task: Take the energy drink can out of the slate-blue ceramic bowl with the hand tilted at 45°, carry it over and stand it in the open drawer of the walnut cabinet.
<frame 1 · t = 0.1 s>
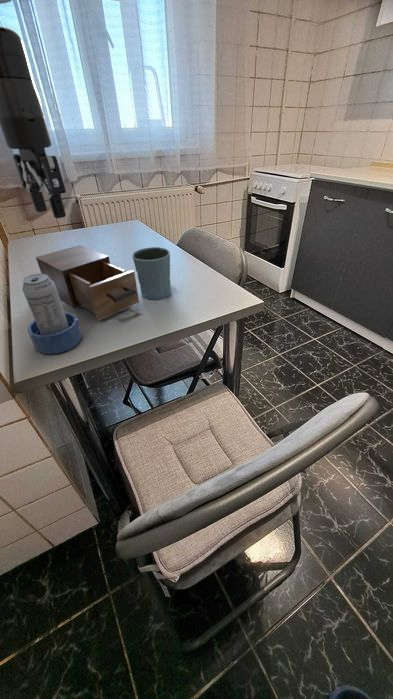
hand: (50, 214, 61), 25 cm above the table, tool pointing down, fingers open, 8 cm apart
drinking glass: (155, 294, 87), on the table
energy drink can: (59, 340, 68), resting on bowl
drawer: (105, 289, 77), point 5 cm above the table, slide at 11.0 cm
bowl: (59, 341, 68), on the table
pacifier: (99, 270, 103), on the table
cabinet: (81, 291, 89), on the table
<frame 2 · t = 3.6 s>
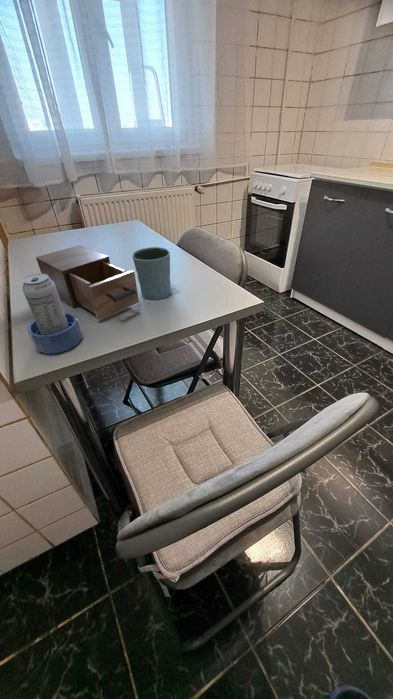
nothing on the table moved.
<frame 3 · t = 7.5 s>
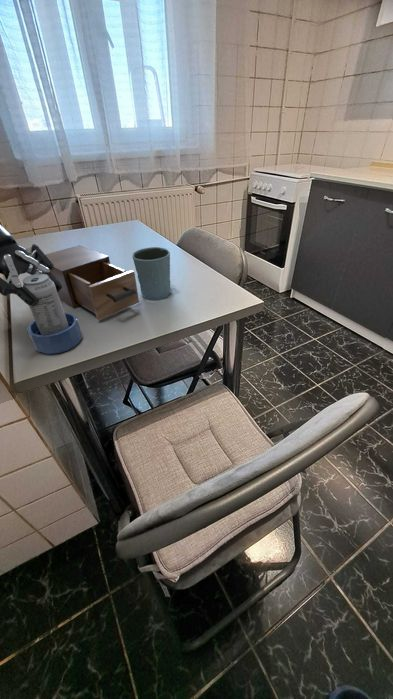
hand: (48, 296, 60), 12 cm above the table, tool tilted 45°, fingers closed on energy drink can, 6 cm apart
energy drink can: (59, 340, 68), resting on bowl, touching gripper
everything else where it was.
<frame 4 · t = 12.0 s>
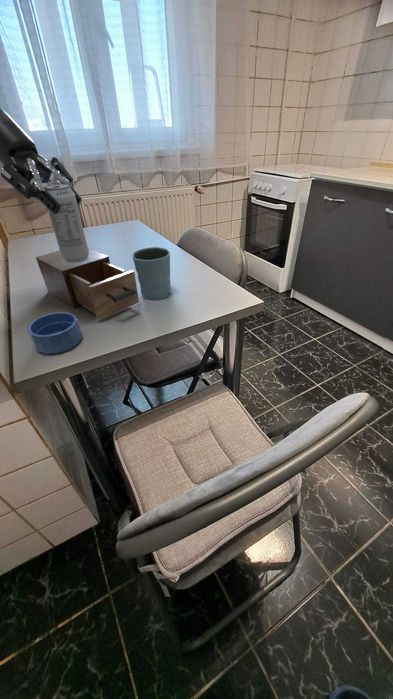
hand: (69, 206, 61), 26 cm above the table, tool tilted 45°, fingers closed on energy drink can, 6 cm apart
energy drink can: (77, 259, 68), point 15 cm above the table, touching gripper
everything else where it was.
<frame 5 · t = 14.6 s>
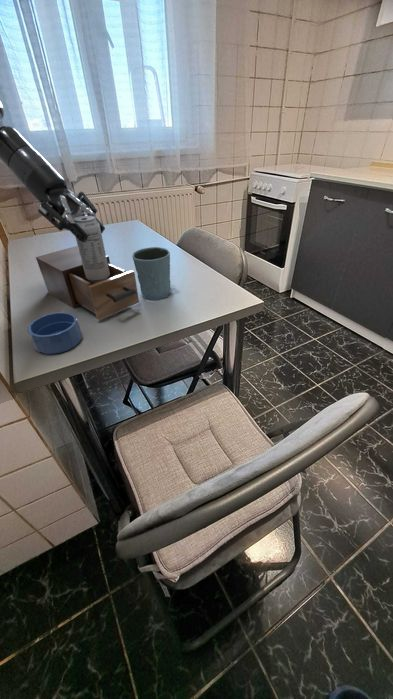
hand: (94, 235, 70), 19 cm above the table, tool tilted 45°, fingers closed on energy drink can, 6 cm apart
energy drink can: (98, 279, 77), point 8 cm above the table, touching gripper
everything else where it was.
when the fingers open (13 cm above the table, at t = 16.7 s): energy drink can stays where it is, resting on drawer.
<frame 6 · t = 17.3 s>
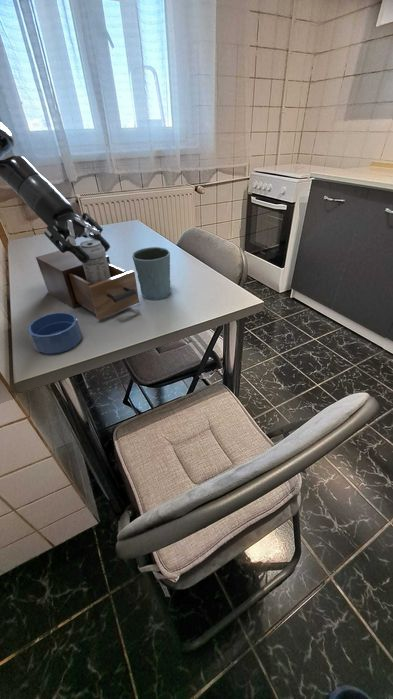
hand: (98, 254, 73), 14 cm above the table, tool tilted 45°, fingers open, 8 cm apart
energy drink can: (103, 299, 80), point 2 cm above the table, touching drawer
drawer: (105, 289, 77), point 5 cm above the table, slide at 11.1 cm, touching energy drink can
everything else where it was.
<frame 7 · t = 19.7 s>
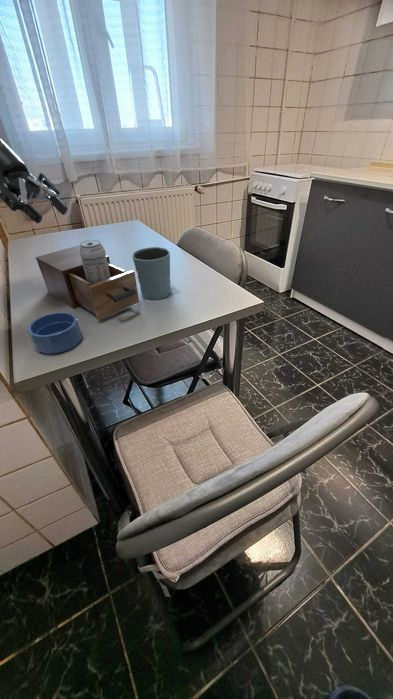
hand: (53, 216, 71), 23 cm above the table, tool tilted 45°, fingers open, 8 cm apart
nothing on the table moved.
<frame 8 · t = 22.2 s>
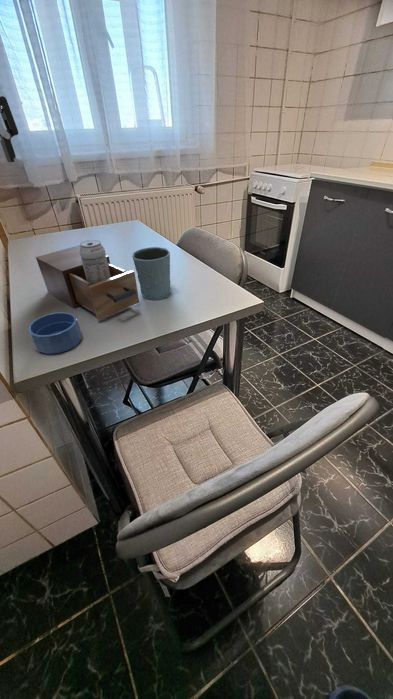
nothing on the table moved.
at the end: energy drink can inside the target area in the drawer (0.2 cm from its centre), point 1.9 cm above the cabinet's base; energy drink can tilted 0°; the gripper is holding nothing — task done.
